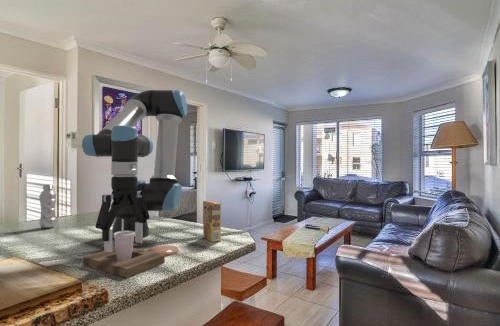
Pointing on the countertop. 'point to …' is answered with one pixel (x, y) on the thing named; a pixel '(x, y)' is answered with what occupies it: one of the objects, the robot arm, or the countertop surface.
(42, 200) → the plastic bottle
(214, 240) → the candy box
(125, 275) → the frame
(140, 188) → the robot arm
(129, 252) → the smoothie
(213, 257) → the countertop surface
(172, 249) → the glossy peach dome
